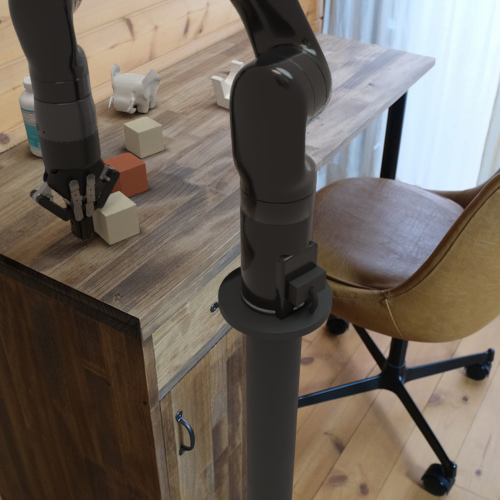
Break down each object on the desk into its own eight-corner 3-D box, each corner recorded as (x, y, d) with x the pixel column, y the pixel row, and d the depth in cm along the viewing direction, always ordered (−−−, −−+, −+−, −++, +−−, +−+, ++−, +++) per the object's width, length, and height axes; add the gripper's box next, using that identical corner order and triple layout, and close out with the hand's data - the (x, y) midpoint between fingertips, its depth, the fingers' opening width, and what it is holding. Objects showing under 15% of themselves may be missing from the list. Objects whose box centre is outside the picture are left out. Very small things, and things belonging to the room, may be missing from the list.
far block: (164, 150, 118) (162, 124, 115) (141, 158, 115) (138, 132, 112) (149, 140, 121) (146, 115, 118) (126, 148, 118) (122, 123, 115)
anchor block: (148, 189, 106) (145, 162, 103) (122, 200, 104) (118, 172, 101) (132, 178, 109) (128, 151, 106) (106, 188, 107) (102, 161, 104)
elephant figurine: (98, 117, 129) (92, 74, 124) (130, 96, 138) (125, 55, 133) (140, 125, 126) (135, 82, 121) (169, 102, 135) (166, 61, 130)
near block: (140, 233, 96) (136, 204, 93) (110, 245, 94) (105, 216, 91) (123, 218, 99) (119, 190, 96) (93, 230, 97) (88, 201, 94)
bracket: (218, 108, 135) (210, 77, 129) (240, 90, 138) (233, 59, 132) (266, 126, 128) (260, 94, 122) (288, 107, 131) (283, 74, 125)
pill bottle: (54, 137, 122) (40, 67, 114) (81, 147, 119) (68, 76, 111) (21, 152, 117) (5, 80, 109) (49, 163, 114) (34, 90, 106)
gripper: (32, 151, 77) (54, 267, 87) (127, 122, 84) (137, 232, 94) (5, 130, 82) (29, 242, 92) (97, 104, 89) (110, 210, 99)
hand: (84, 237), depth 93 cm, fingers closed
